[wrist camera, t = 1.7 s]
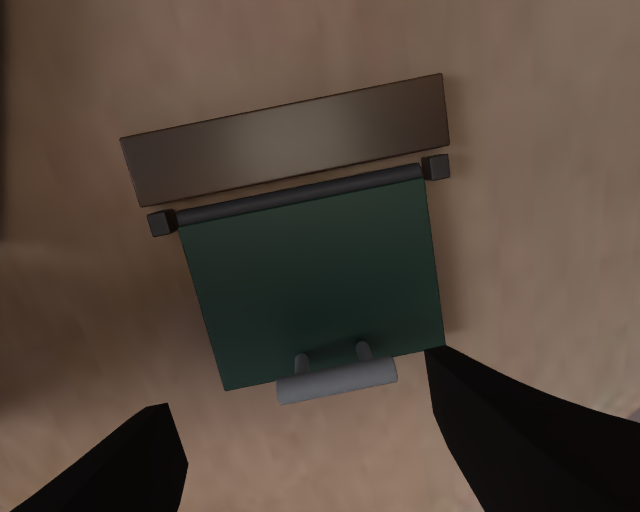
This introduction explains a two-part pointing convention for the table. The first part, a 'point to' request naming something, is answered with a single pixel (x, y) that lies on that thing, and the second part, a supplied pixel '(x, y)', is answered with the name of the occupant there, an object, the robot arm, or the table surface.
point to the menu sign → (317, 282)
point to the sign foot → (288, 143)
